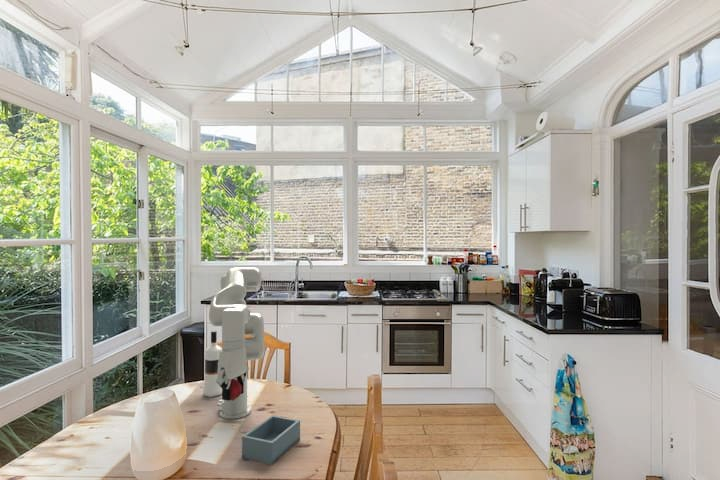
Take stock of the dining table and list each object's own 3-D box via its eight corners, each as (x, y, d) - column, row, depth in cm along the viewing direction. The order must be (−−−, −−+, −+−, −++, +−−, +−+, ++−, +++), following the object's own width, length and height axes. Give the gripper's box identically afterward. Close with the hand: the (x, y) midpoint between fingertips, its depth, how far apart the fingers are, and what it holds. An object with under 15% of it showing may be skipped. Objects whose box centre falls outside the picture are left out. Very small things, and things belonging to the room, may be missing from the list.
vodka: (204, 391, 194) (204, 329, 195) (224, 389, 197) (224, 328, 197) (201, 398, 185) (202, 333, 186) (222, 396, 188) (223, 332, 188)
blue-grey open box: (242, 457, 134) (242, 436, 134) (272, 433, 151) (272, 415, 151) (272, 464, 130) (272, 443, 130) (300, 439, 147) (300, 420, 147)
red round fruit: (245, 398, 139) (245, 375, 140) (234, 404, 134) (234, 381, 134) (231, 396, 142) (231, 373, 142) (220, 402, 136) (220, 378, 136)
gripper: (241, 337, 147) (240, 386, 147) (206, 349, 131) (206, 404, 131) (257, 339, 144) (257, 389, 144) (224, 351, 129) (224, 407, 128)
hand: (233, 395), depth 138 cm, fingers closed on red round fruit, 5 cm apart
